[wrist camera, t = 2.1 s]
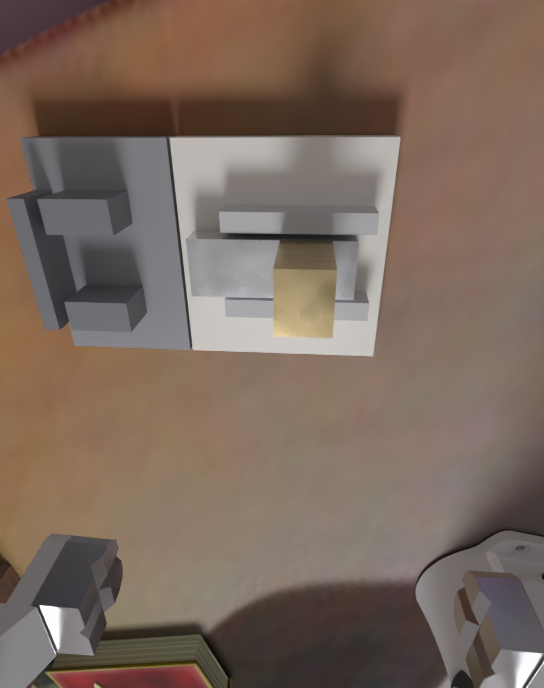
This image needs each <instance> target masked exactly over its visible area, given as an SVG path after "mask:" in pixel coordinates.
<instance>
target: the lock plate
mask: <svg viewBox="0 0 544 688" xmlns="http://www.w3.org/2000/svg"><path fill="white" fill-rule="evenodd" d="M400 138H401V137H399V136H395V135H277V136H35V137H25V138H20V141H21V144H22V148H23V152H24V156H25V160H26V163H27V167H28V171H29V175H30V179H31V182H32V186H33V190H34V191H31V192H27V193H24V194H21V195H17V196H14V197H10V198H7V203H8V206H9V209H10V213H11V216H12V219H13V223H14V226H15V230H16V233H17V236H18V240H19V243H20V246H21V250H22V253H23V257H24V260H25V263H26V267H27V270H28V273H29V277H30V280H31V284H32V287H33V290H34V294H35V297H36V300H37V304H38V307H39V311H40V314H41V317H42V321H43V324H44V327H45V329H48V330H60V329H61V328H62V327H64V326H65V325H66V324H67V323H68V322H69V326H70V330H71V334H72V338H73V341H74V345H75V346H95V347H124V348H153V349H182V350H190V349H191V347H192V345H193V350H210V351H239V352H268V353H297V354H325V355H354V356H373V352H374V345H375V337H376V329H377V321H378V313H379V305H380V297H381V289H382V281H383V273H384V265H385V257H386V249H387V241H388V233H389V225H390V217H391V209H392V202H393V194H394V186H395V178H396V170H397V162H398V154H399V146H400ZM194 230H204V231H220V233H261V234H332V235H357V237H358V240H359V249H358V260H357V271H356V282H355V292H354V300H335V310H334V324H333V338H306V337H275V336H273V298H240V297H201V296H192V293H191V284H190V274H189V265H188V255H187V246H186V238H187V237H188V236H189V235H190V234H191V233H192V232H193V231H194Z"/></svg>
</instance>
